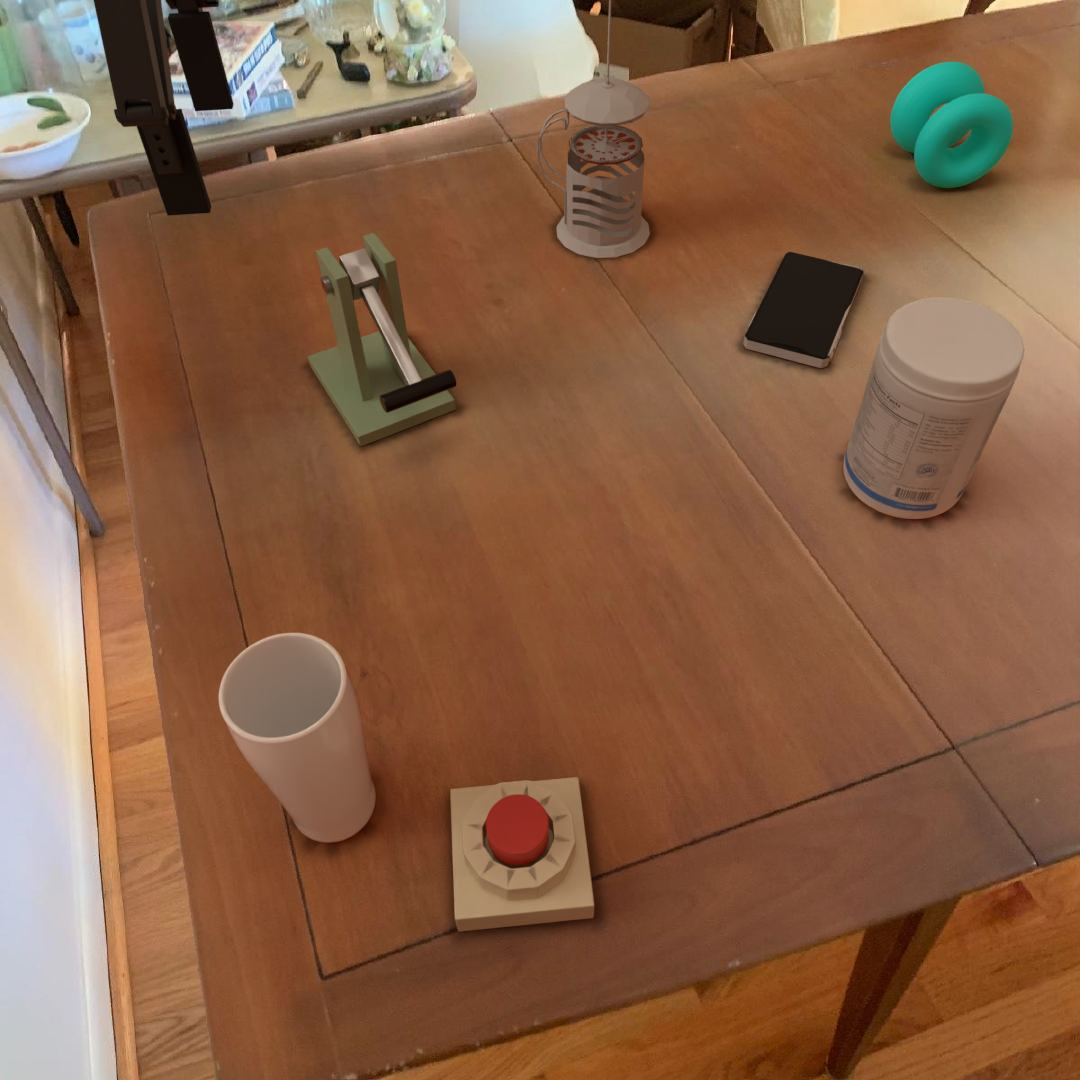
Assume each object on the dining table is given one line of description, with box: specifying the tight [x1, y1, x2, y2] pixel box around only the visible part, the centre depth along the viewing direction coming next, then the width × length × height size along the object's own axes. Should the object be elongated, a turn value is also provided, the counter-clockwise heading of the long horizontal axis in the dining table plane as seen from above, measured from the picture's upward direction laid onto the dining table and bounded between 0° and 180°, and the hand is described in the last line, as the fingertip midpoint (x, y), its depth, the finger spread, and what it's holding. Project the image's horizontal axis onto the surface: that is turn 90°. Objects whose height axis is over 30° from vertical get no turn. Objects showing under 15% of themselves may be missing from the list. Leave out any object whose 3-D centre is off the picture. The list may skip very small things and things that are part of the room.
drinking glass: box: [218, 632, 377, 844], centre depth 56 cm, size 7×7×15 cm
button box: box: [449, 776, 595, 932], centre depth 58 cm, size 8×8×4 cm
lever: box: [338, 247, 458, 413], centre depth 77 cm, size 13×6×2 cm, turn 30°
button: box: [486, 794, 549, 865], centre depth 56 cm, size 4×4×2 cm
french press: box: [535, 0, 651, 259], centre depth 92 cm, size 10×12×25 cm
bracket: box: [307, 232, 457, 447], centre depth 82 cm, size 12×9×14 cm
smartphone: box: [742, 251, 865, 369], centre depth 92 cm, size 8×1×15 cm
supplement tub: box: [842, 296, 1025, 520], centre depth 73 cm, size 10×10×15 cm
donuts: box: [889, 61, 1014, 189], centre depth 104 cm, size 10×10×10 cm
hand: (203, 156), depth 67 cm, fingers open, 13 cm apart
